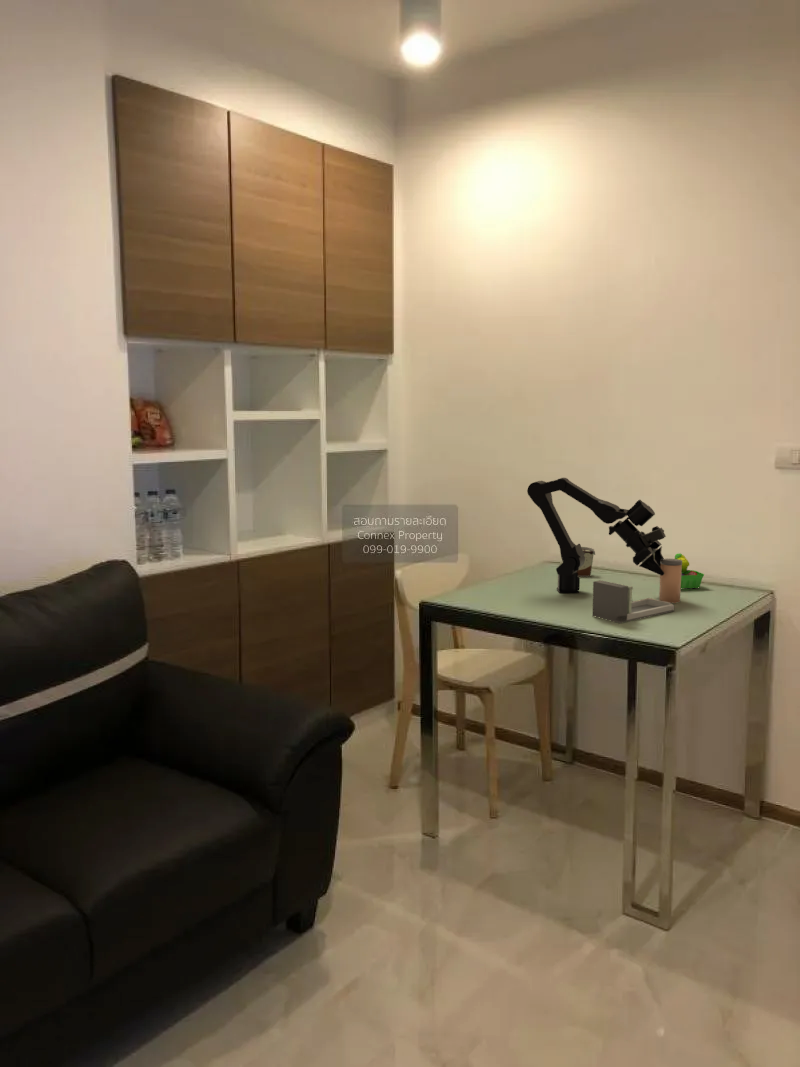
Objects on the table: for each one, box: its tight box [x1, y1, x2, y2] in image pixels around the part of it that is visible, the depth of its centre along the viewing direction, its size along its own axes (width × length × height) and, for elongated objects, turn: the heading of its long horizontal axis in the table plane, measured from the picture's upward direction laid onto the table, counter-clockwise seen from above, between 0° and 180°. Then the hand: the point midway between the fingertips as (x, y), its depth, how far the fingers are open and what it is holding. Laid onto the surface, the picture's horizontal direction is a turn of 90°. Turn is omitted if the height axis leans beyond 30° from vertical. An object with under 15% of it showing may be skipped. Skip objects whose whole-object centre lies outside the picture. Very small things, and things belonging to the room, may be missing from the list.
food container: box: [577, 546, 596, 577], centre depth 318 cm, size 12×6×10 cm, turn 84°
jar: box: [658, 558, 682, 604], centre depth 275 cm, size 7×7×13 cm
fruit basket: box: [674, 552, 705, 589], centre depth 295 cm, size 11×9×11 cm
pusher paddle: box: [611, 582, 634, 614], centre depth 256 cm, size 1×8×9 cm, turn 35°
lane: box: [591, 579, 675, 624], centre depth 259 cm, size 24×10×10 cm, turn 125°
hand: (665, 572), depth 276 cm, fingers open, 9 cm apart
